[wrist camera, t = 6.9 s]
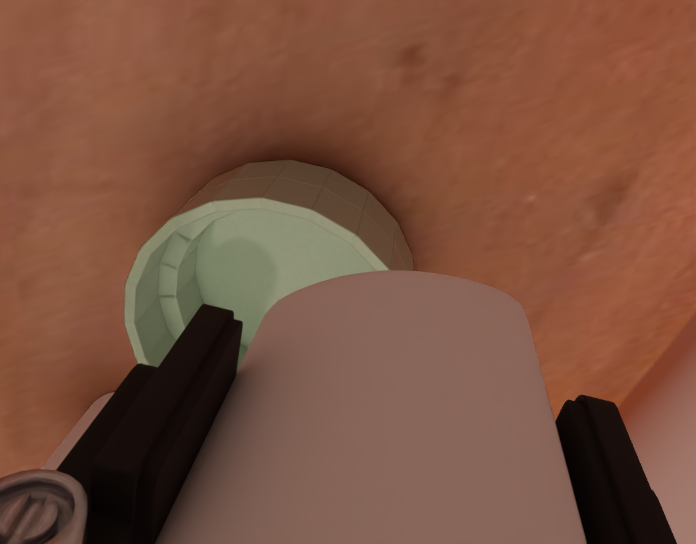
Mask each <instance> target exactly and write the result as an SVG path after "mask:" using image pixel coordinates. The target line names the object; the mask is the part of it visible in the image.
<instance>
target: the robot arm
mask: <svg viewBox="0 0 696 544" xmlns="http://www.w3.org/2000/svg"><path fill="white" fill-rule="evenodd" d="M242 329H243V322H242V321H240V320H236V319H234V312H233V311H232V310H228V309H224V308H220V307H216V306H212V305H207V304H202V305H201V306H200V308H199V309H198V310H197V312H196V313H195V315H194V316H193V318H192V319H191V321H190V322H189V323H188V325H187V326H186V328H185V329H184V331H183V332H182V333H181V335H180V336H179V338H178V339H177V341H176V342H175V344H174V345H173V346H172V348H171V349H170V351H169V352H168V354H167V355H166V356H165V358H164V359H163V361H162V362H161V364H160V365H159V367H155V366H151V365H146V364H142V363H140V364H137V365H136V366H135V367H134V368H133V369H132V370H131V371H130V373H129V374H128V375H127V377H126V378H125V379H124V381H123V382H122V383H121V385H120V386H119V387H118V389H117V390H116V391H115V393H114V394H113V395H112V396H111V398H110V399H109V400H108V402H107V403H106V404H105V406H104V407H103V408H102V410H101V411H100V412H99V414H98V415H97V416H96V418H95V419H94V420H93V422H92V423H91V424H90V426H89V427H88V428H87V430H86V431H85V432H84V433H83V435H82V436H81V437H80V439H79V440H78V441H77V443H76V444H75V445H74V447H73V448H72V449H71V451H70V452H69V453H68V455H67V456H66V457H65V459H64V460H63V461H62V463H61V464H60V465H59V467H58V468H57V469H56V470H47V469H34V470H26V471H20V472H17V473H14V474H11V475H8V476H5V477H2V478H0V544H155V542H156V540H157V538H158V536H159V534H160V532H161V530H162V527H163V525H164V523H165V521H166V519H167V517H168V515H169V513H170V510H171V508H172V506H173V504H174V502H175V500H176V498H177V496H178V494H179V492H180V490H181V488H182V486H183V484H184V481H185V479H186V477H187V475H188V473H189V471H190V469H191V467H192V465H193V463H194V461H195V459H196V457H197V455H198V453H199V451H200V449H201V446H202V444H203V442H204V440H205V438H206V436H207V434H208V432H209V430H210V428H211V426H212V424H213V422H214V420H215V418H216V416H217V413H218V411H219V409H220V407H221V405H222V403H223V401H224V399H225V397H226V395H227V393H228V391H229V389H230V387H231V385H232V383H233V381H234V379H235V377H236V372H237V365H238V357H239V350H240V343H241V336H242ZM555 423H556V427H557V431H558V435H559V439H560V442H561V446H562V450H563V454H564V458H565V462H566V465H567V469H568V473H569V477H570V481H571V485H572V488H573V492H574V496H575V500H576V504H577V508H578V511H579V515H580V519H581V523H582V527H583V530H584V534H585V538H586V542H587V544H677V543H676V540H675V538H674V536H673V533H672V531H671V528H670V526H669V524H668V521H667V519H666V517H665V514H664V512H663V510H662V507H661V505H660V502H659V500H658V498H657V496H656V495H655V493H654V491H653V490H651V488H650V485H649V483H648V481H647V478H646V476H645V473H644V471H643V469H642V466H641V464H640V462H639V459H638V456H637V454H636V452H635V450H634V447H633V444H632V442H631V440H630V437H629V435H628V432H627V430H626V428H625V425H624V423H623V421H622V418H621V416H620V413H619V411H618V408H617V406H616V405H615V403H613V402H610V401H606V400H602V399H598V398H593V397H589V396H585V395H580V396H578V397H577V398H576V400H575V401H572V400H567V401H566V402H565V403H564V405H563V407H562V409H561V411H560V413H559V415H558V417H557V420H556V422H555Z"/></svg>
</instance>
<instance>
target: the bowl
mask: <svg viewBox="0 0 696 544" xmlns="http://www.w3.org/2000/svg"><path fill="white" fill-rule="evenodd" d="M387 270H407V271H414V259H413V256H412V254H411V251H410V249H409V247H408V245H407V242H406V240H405V238H404V236H403V233H402V231H401V229H400V227H399V224H398V223H397V221H396V220H395V219H394V218H393V217H392V216H391V215H390V214H389V212H388V211H387V210H386V209H385V208H384V207H383V206H382V205H381V204H380V203H379V201H378V200H377V199H376V198H375V197H374V196H373V195H372V194H371V193H370V192H369V191H368V190H366V189H364V188H363V187H361V186H359V185H358V184H356V183H354V182H352V181H351V180H349V179H347V178H346V177H344V176H342V175H340V174H339V173H337V172H335V171H334V170H331V169H328V168H324V167H319V166H315V165H311V164H307V163H302V162H298V161H294V160H280V161H267V162H255V163H249V164H248V163H247V164H245V165H242V166H240V167H238V168H236V169H233V170H231V171H229V172H227V173H224V174H222V175H220V176H217V177H215V178H213V179H212V180H210V181H209V182H208V183H207V184H206V185H205V186H204V187H203V188H202V189H201V190H200V191H199V192H198V193H197V194H196V195H195V196H194V197H192V198H191V199H190V200H189V201H188V202H187V203H186V204H185V205H184V206H183V207H182V208H181V209H180V210H179V211H178V212H177V213H175V214H174V215H173V216H172V217H171V218H170V219H169V220H168V221H167V222H166V223H165V224H164V225H163V226H162V227H161V228H160V229H159V230H158V231H157V232H156V233H155V234H154V235H153V236H152V237H151V238H150V239H149V240H148V241H147V242H146V243H145V244H144V245H142V247H141V248H140V250H139V252H138V255H137V257H136V259H135V262H134V264H133V266H132V269H131V271H130V273H129V276H128V278H127V280H126V284H125V309H124V322H125V323H124V324H125V327H126V330H127V333H128V336H129V339H130V342H131V345H132V348H133V352H134V355H135V358H136V359H137V362H138V363H139V364H140V363H142V364H146V365H151V366H155V367H159V365H160V364H161V362H162V361H163V359H164V358H165V356H166V355H167V354H168V352H169V351H170V349H171V348H172V346H173V345H174V344H175V342H176V341H177V339H178V338H179V336H180V335H181V333H182V332H183V331H184V329H185V328H186V326H187V325H188V323H189V322H190V321H191V319H192V318H193V316H194V315H195V313H196V312H197V310H198V309H199V308H200V306H201V305H202V304H207V305H212V306H216V307H220V308H224V309H228V310H232V311H233V312H234V319H236V320H240V321H242V322H243V329H242V336H241V343H240V350H239V357H238V365H237V370H238V368H239V366H240V364H241V362H242V360H243V358H244V356H245V354H246V352H247V350H248V348H249V346H250V344H251V342H252V340H253V338H254V336H255V334H256V332H257V330H258V328H259V326H260V324H261V322H262V320H263V318H264V316H265V314H266V312H267V311H268V310H269V309H270V308H271V307H272V306H273V305H274V304H275V303H276V302H277V301H278V300H280V299H281V298H283V297H285V296H287V295H289V294H291V293H293V292H295V291H297V290H300V289H302V288H305V287H307V286H310V285H313V284H316V283H319V282H322V281H325V280H329V279H332V278H337V277H341V276H346V275H351V274H357V273H363V272H372V271H387Z"/></svg>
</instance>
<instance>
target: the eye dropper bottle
mask: <svg viewBox="0 0 696 544" xmlns="http://www.w3.org/2000/svg"><path fill="white" fill-rule="evenodd" d="M155 544H587V542H586V538H585V534H584V530H583V527H582V523H581V519H580V515H579V511H578V508H577V504H576V500H575V496H574V492H573V488H572V485H571V481H570V477H569V473H568V469H567V465H566V462H565V458H564V454H563V450H562V446H561V442H560V439H559V435H558V431H557V427H556V423H555V420H554V416H553V412H552V408H551V405H550V401H549V397H548V393H547V390H546V386H545V382H544V378H543V375H542V371H541V367H540V363H539V360H538V356H537V352H536V349H535V345H534V341H533V337H532V334H531V330H530V326H529V323H528V320H527V317H526V314H525V311H524V309H523V307H522V305H521V304H520V303H518V302H517V301H516V300H515V299H514V298H512V297H511V296H510V295H509V294H507V293H505V292H503V291H501V290H498V289H496V288H493V287H491V286H488V285H485V284H482V283H478V282H475V281H471V280H467V279H464V278H459V277H455V276H450V275H444V274H438V273H431V272H422V271H407V270H387V271H372V272H363V273H357V274H351V275H346V276H341V277H337V278H332V279H329V280H325V281H322V282H319V283H316V284H313V285H310V286H307V287H305V288H302V289H300V290H297V291H295V292H293V293H291V294H289V295H287V296H285V297H283V298H281V299H280V300H278V301H277V302H276V303H275V304H274V305H273V306H272V307H271V308H270V309H269V310H268V311H267V312H266V314H265V316H264V318H263V320H262V322H261V324H260V326H259V328H258V330H257V332H256V334H255V336H254V338H253V340H252V342H251V344H250V346H249V348H248V350H247V352H246V354H245V356H244V358H243V360H242V362H241V364H240V366H239V368H238V370H237V372H236V377H235V379H234V381H233V383H232V385H231V387H230V389H229V391H228V393H227V395H226V397H225V399H224V401H223V403H222V405H221V407H220V409H219V411H218V413H217V416H216V418H215V420H214V422H213V424H212V426H211V428H210V430H209V432H208V434H207V436H206V438H205V440H204V442H203V444H202V446H201V449H200V451H199V453H198V455H197V457H196V459H195V461H194V463H193V465H192V467H191V469H190V471H189V473H188V475H187V477H186V479H185V481H184V484H183V486H182V488H181V490H180V492H179V494H178V496H177V498H176V500H175V502H174V504H173V506H172V508H171V510H170V513H169V515H168V517H167V519H166V521H165V523H164V525H163V527H162V530H161V532H160V534H159V536H158V538H157V540H156V542H155Z"/></svg>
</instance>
